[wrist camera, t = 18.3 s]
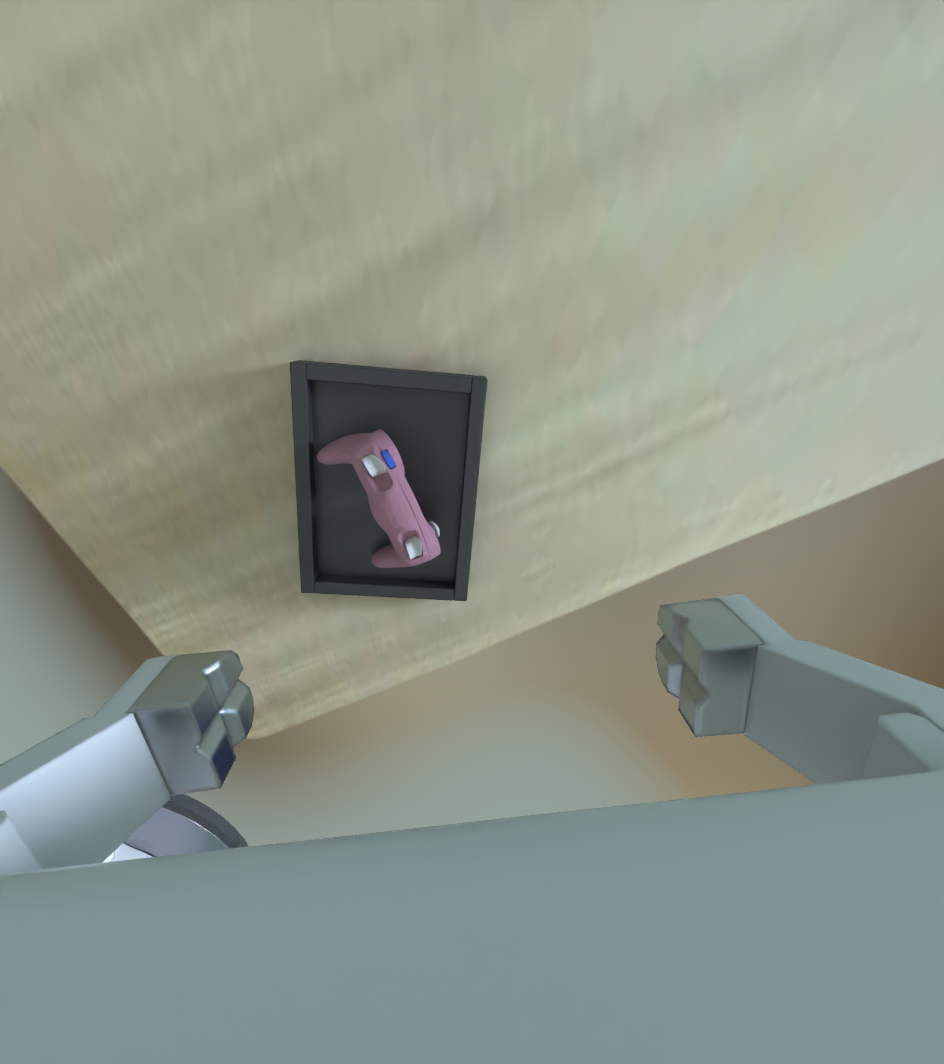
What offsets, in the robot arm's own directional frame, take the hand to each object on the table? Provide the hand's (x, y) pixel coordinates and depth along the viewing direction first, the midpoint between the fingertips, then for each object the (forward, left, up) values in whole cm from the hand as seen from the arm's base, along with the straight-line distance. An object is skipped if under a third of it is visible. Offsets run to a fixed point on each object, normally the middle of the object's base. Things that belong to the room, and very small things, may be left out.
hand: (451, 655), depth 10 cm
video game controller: (-4, -5, -26) cm, 27 cm away
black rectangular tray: (-4, -5, -27) cm, 28 cm away
